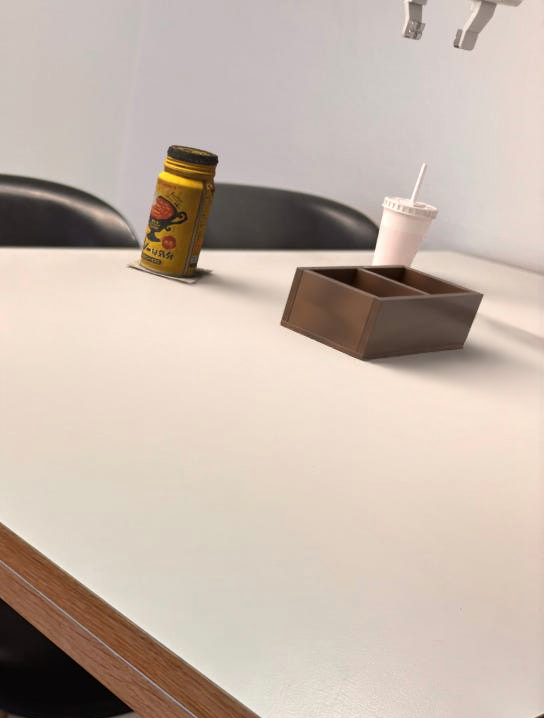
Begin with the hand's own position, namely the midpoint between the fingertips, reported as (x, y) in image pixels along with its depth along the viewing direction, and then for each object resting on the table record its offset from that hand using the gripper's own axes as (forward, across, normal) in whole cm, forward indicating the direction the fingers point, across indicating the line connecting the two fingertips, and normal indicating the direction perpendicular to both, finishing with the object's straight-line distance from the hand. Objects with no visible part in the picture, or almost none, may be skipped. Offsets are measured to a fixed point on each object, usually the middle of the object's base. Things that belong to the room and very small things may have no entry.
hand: (435, 44), depth 120 cm
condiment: (+26, -9, +32) cm, 42 cm away
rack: (+26, -27, +18) cm, 41 cm away
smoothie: (+26, -6, +1) cm, 26 cm away
